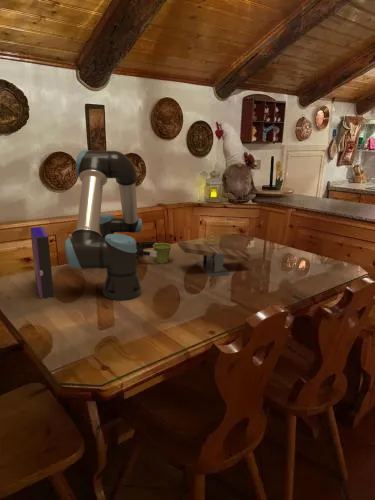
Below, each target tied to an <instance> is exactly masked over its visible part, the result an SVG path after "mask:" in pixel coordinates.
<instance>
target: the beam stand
mask: <svg viewBox="0 0 375 500" xmlns="http://www.w3.org/2000/svg"><path fill="white" fill-rule="evenodd" d="M205 245H206V246H213V244H205ZM223 257H224V254H223V253H220V254H214V257H212V256H205V255H202V260H197V261H196V265H197V266H198V267H199V269H200V270H202V271H203V272H204V273H205V275H207V277H209V278H210V277H220V276H230V271H229V270H227V268H226V267H225V266H224V258H223Z"/></svg>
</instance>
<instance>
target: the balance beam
mask: <svg viewBox="0 0 375 500" xmlns="http://www.w3.org/2000/svg"><path fill="white" fill-rule="evenodd" d="M206 245H207V244H199V243H194V242H193V243H192V242H188V241H180V240H179V241H178V242H177V246H178V247H179V248H180V250H182V251H183V253H186V254H194V255H201V256H203V255H205V256H212V257H214V254H220V253H223V254H224V257H223V259H227V260H233V261H241V262H248V261H249V256H247V255H246V254H244V253H243V252H241V251H240V250H237V249H230V248H225V247H218V246H213V245H212V246H206Z"/></svg>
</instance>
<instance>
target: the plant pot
mask: <svg viewBox="0 0 375 500" xmlns="http://www.w3.org/2000/svg"><path fill="white" fill-rule="evenodd" d="M153 247H154V248H153V250H154V251H157V257H155V262H156V263H158V264H166V263H169V258H170V251H171V248H172V247H173V246H172V244H170V243H167V242H156V244H153Z"/></svg>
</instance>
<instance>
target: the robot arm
mask: <svg viewBox="0 0 375 500" xmlns="http://www.w3.org/2000/svg"><path fill="white" fill-rule="evenodd" d="M75 173H76V176H77V177H78V178H79V179H78V180H80V182H81V191H80V197H79V198H80V199H79V205H78V206H79V207H78V213H77V221H76V229H74V230H73V231H72V232H71V237H67V238H66V239H65V242H64V254H65V258H66V263H67V264H68V267H70V268H72V269H80V270H81V269H106V277H105V281H104V284H103V286H102V294H103V296H104V297H105V298H107V299H110V300H114V301H125V300H126V301H127V300H131V299H136V298H137V297H139V296H140V295H141V294H142V285H141V284H142V283H141V282H140V279H139V276H138V272H137V270H138V269H137V268H138V267H137V265H138V264H137V257H139V258H144V256H145V257H154V258H156V257H157V251H155V250H151V248H153V249H154V247H153V245H154V244H156V243H157V241H156V240H154V241H137V242H136V239H135V238H134V237H132V236H129V235H127V234H139V233H142V230H143V219H142V218H140V217H138V215H139V214H138V203H137V190H136V189H137V187H136V183H137V181H138V173H137V170H136V166H135V165H134V164H133V162H132V160H131V159H130V158H129V157H128V156H127V155H125V153H122V152H120V151H119V150H118V151H117V150H91V149H88V150H81V151H80V152H78V155H77V157H76V161H75ZM108 179H115V181H116V183H117V184H118V189H119V197H120V205H121V213H122V217H119V218H118V217H115V216H114V214H113V213H102V214H101V212H102V199H103V187H104V186H105V185H106V184H107V183H108ZM123 233H127V234H123ZM148 249H149V250H148Z"/></svg>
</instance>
